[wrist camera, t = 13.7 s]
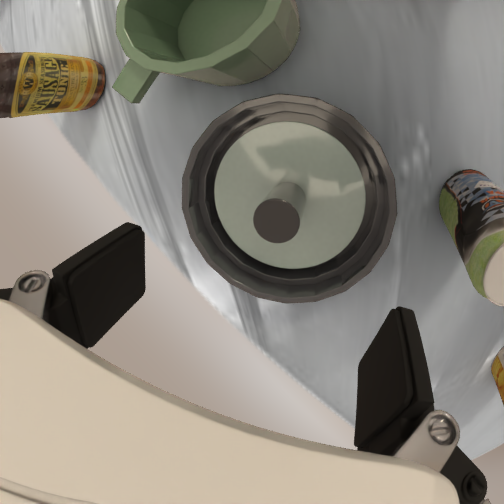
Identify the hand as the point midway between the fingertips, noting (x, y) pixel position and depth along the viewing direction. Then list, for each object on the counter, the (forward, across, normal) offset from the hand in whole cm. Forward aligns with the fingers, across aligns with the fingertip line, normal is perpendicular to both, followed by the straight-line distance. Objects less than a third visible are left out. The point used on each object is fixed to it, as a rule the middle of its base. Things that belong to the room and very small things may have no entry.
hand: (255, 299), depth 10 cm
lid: (+15, +1, +1) cm, 15 cm away
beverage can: (+17, -14, -3) cm, 22 cm away
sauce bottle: (+16, +25, -8) cm, 31 cm away
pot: (+16, +9, -13) cm, 23 cm away
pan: (+16, +1, +1) cm, 16 cm away
